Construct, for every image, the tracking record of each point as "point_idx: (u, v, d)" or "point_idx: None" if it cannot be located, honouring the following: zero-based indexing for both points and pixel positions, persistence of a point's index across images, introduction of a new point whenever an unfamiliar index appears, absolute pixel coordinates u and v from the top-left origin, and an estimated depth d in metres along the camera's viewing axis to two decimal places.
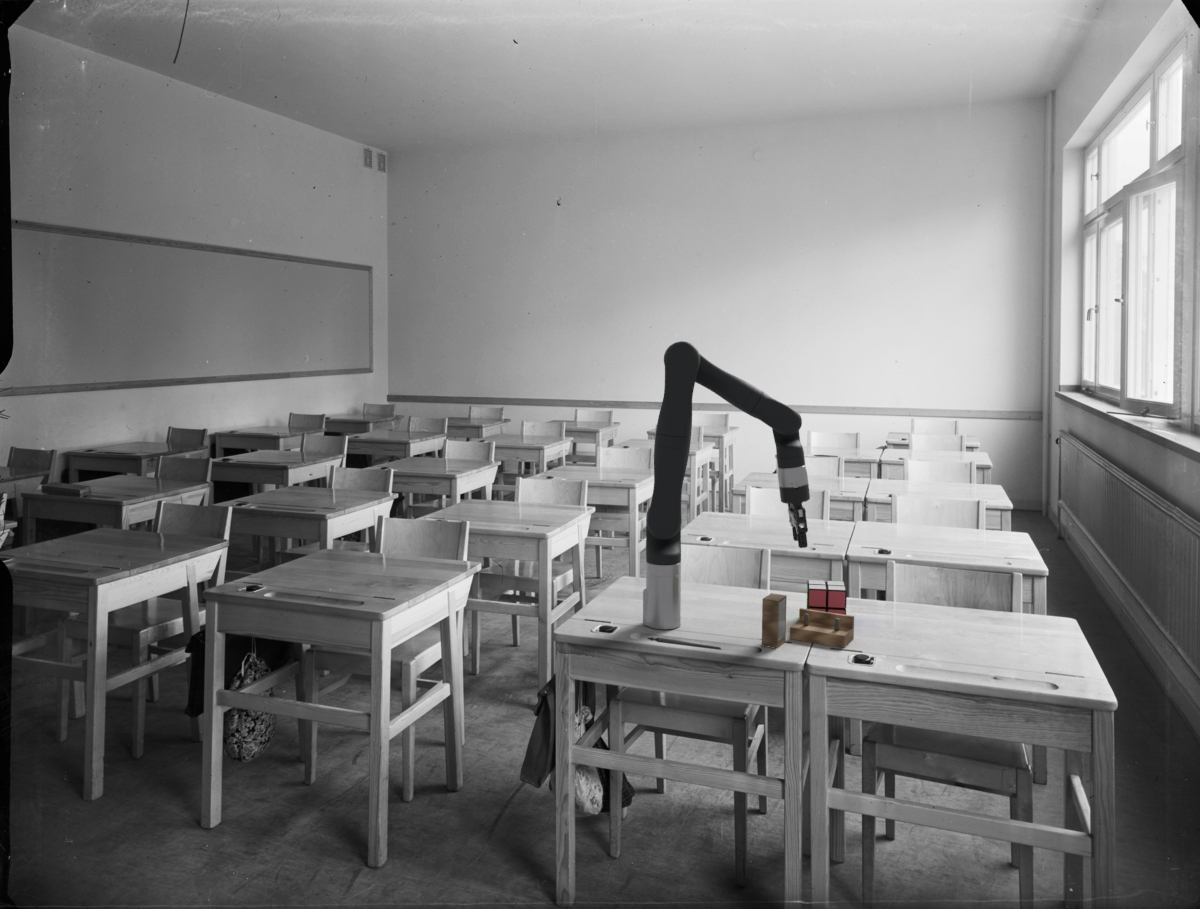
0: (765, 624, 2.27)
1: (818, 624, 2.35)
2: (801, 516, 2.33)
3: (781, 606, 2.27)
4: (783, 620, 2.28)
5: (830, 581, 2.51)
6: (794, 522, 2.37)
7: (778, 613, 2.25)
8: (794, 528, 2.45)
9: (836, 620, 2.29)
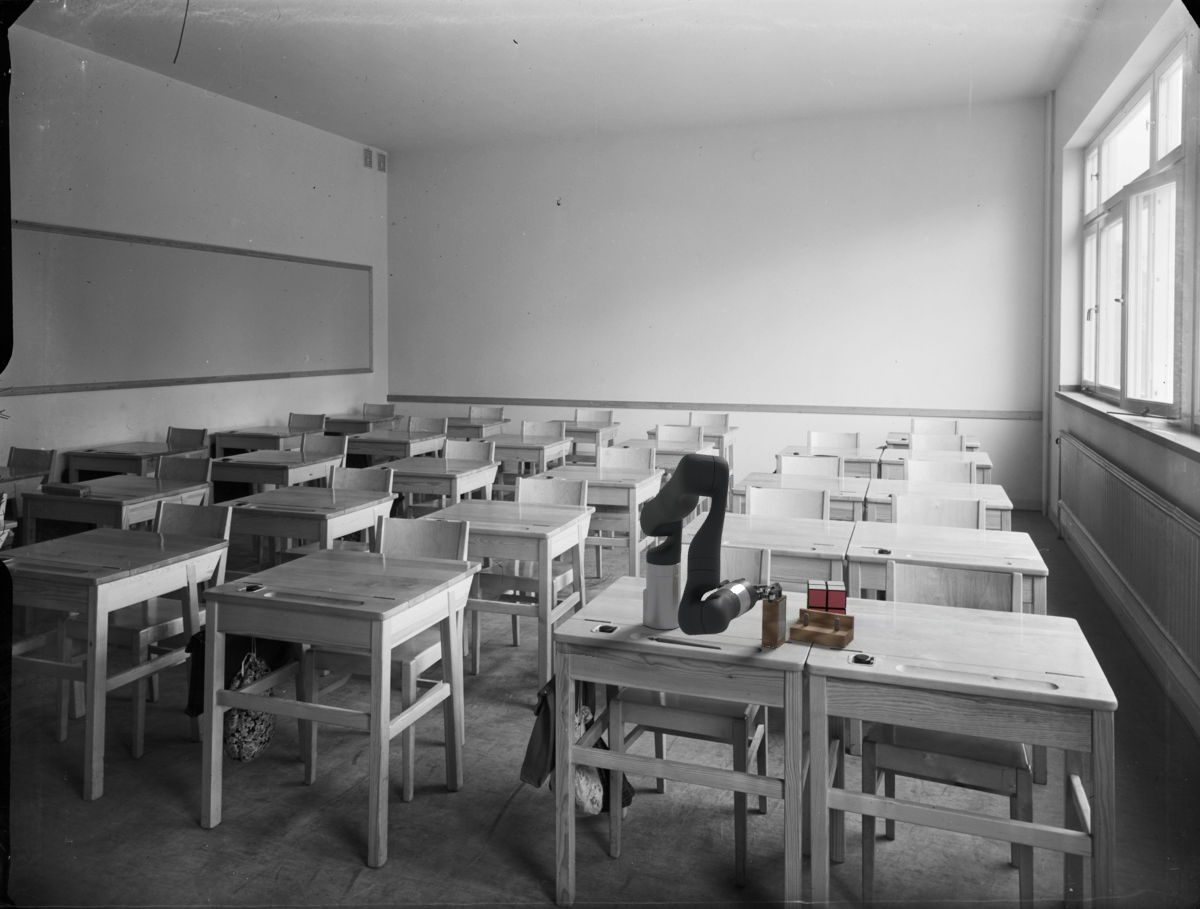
0: (765, 624, 2.27)
1: (818, 624, 2.35)
2: None
3: (781, 606, 2.27)
4: (783, 620, 2.28)
5: (830, 581, 2.51)
6: None
7: (778, 613, 2.25)
8: None
9: (836, 620, 2.29)
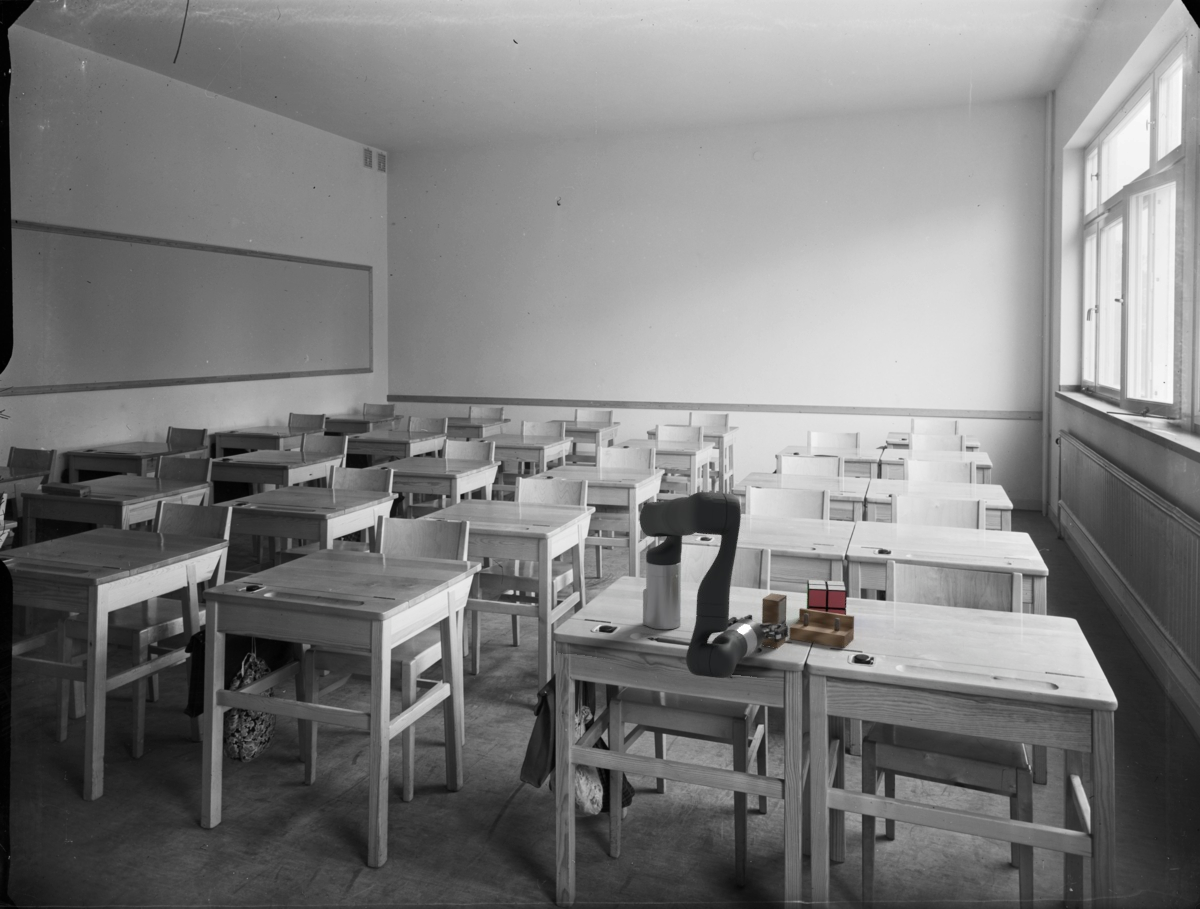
0: None
1: (818, 624, 2.35)
2: None
3: (781, 606, 2.27)
4: None
5: (830, 581, 2.51)
6: None
7: (778, 613, 2.25)
8: None
9: (836, 620, 2.29)
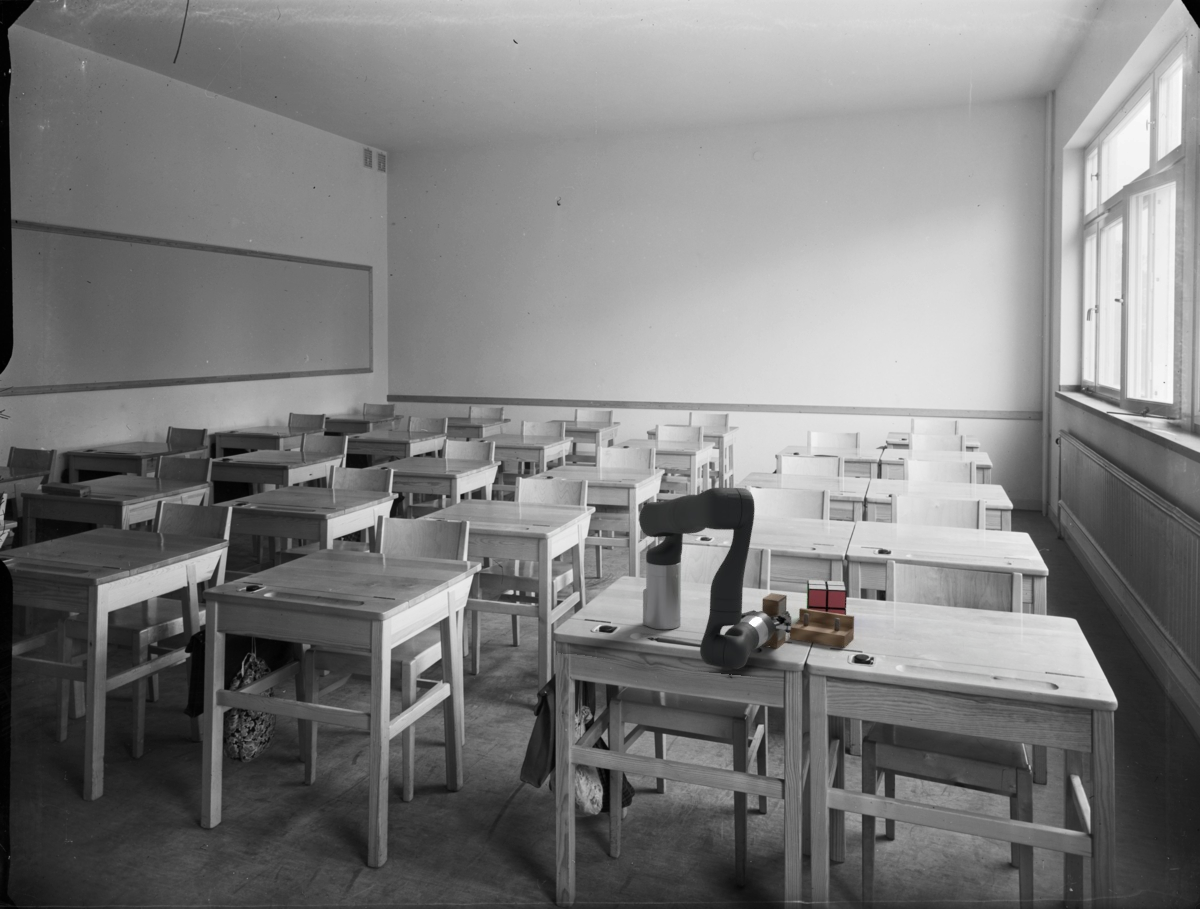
0: None
1: (818, 624, 2.35)
2: None
3: (781, 606, 2.27)
4: None
5: (830, 581, 2.51)
6: None
7: (778, 613, 2.25)
8: None
9: (836, 620, 2.29)
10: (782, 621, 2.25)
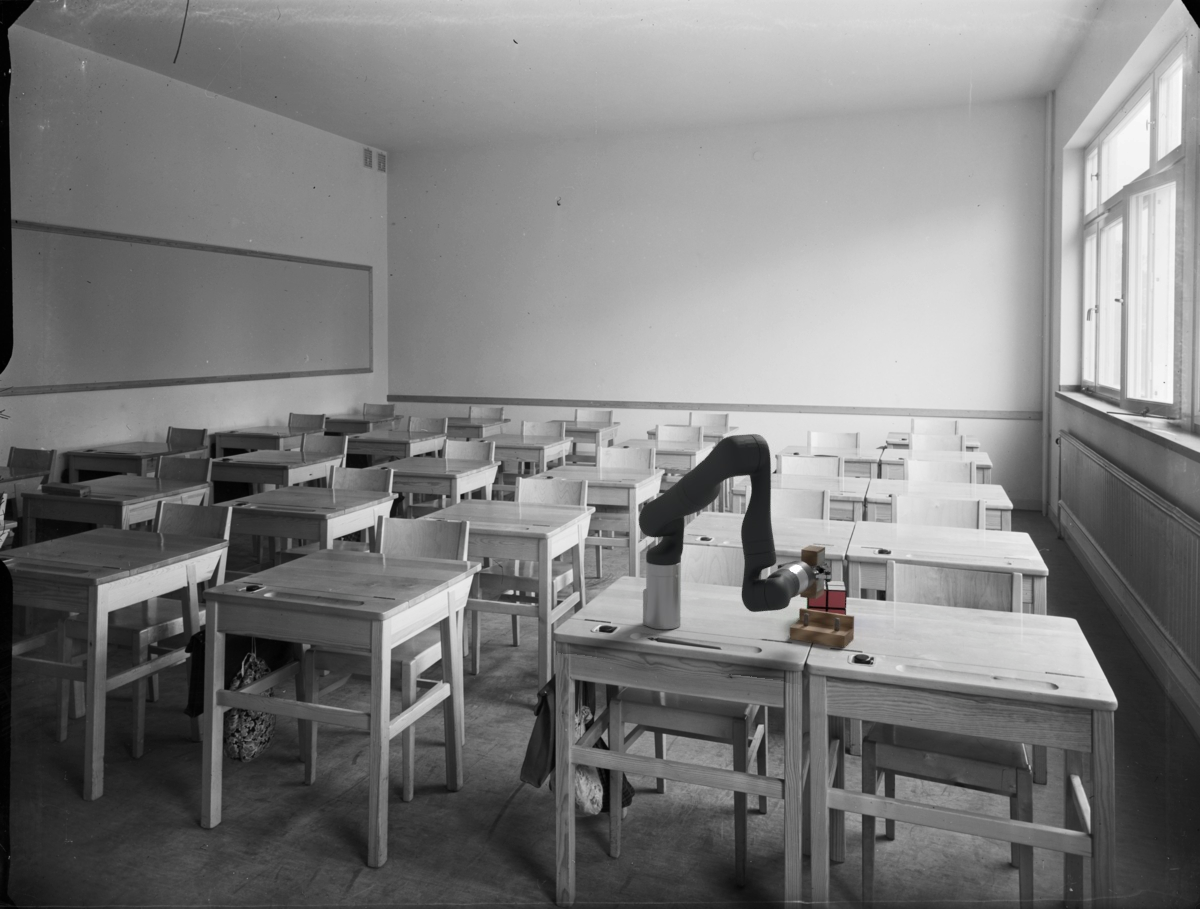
0: None
1: (818, 624, 2.35)
2: None
3: (820, 557, 2.27)
4: None
5: (830, 581, 2.51)
6: None
7: (817, 564, 2.26)
8: None
9: (836, 620, 2.29)
10: (821, 572, 2.26)
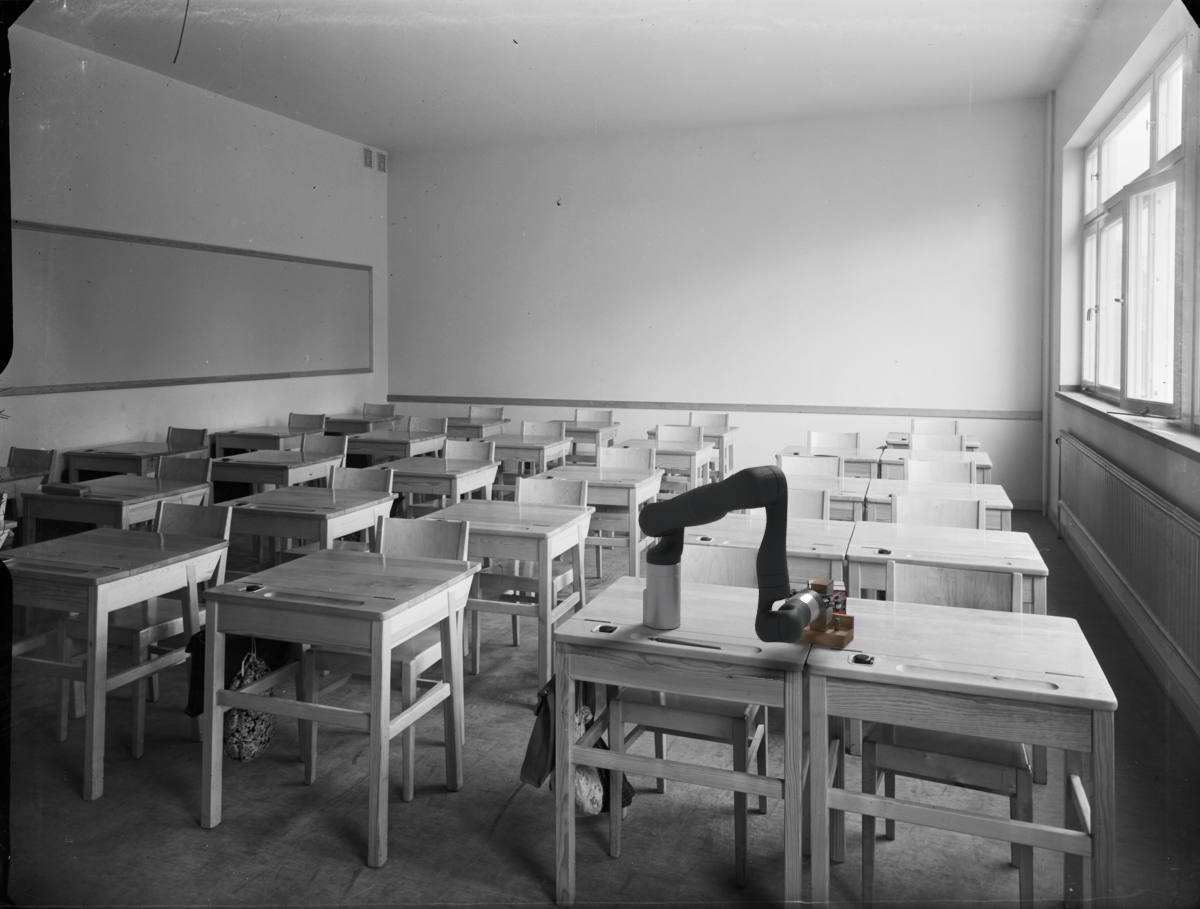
0: None
1: None
2: None
3: (829, 590, 2.30)
4: None
5: None
6: None
7: (826, 597, 2.28)
8: None
9: (836, 620, 2.29)
10: None
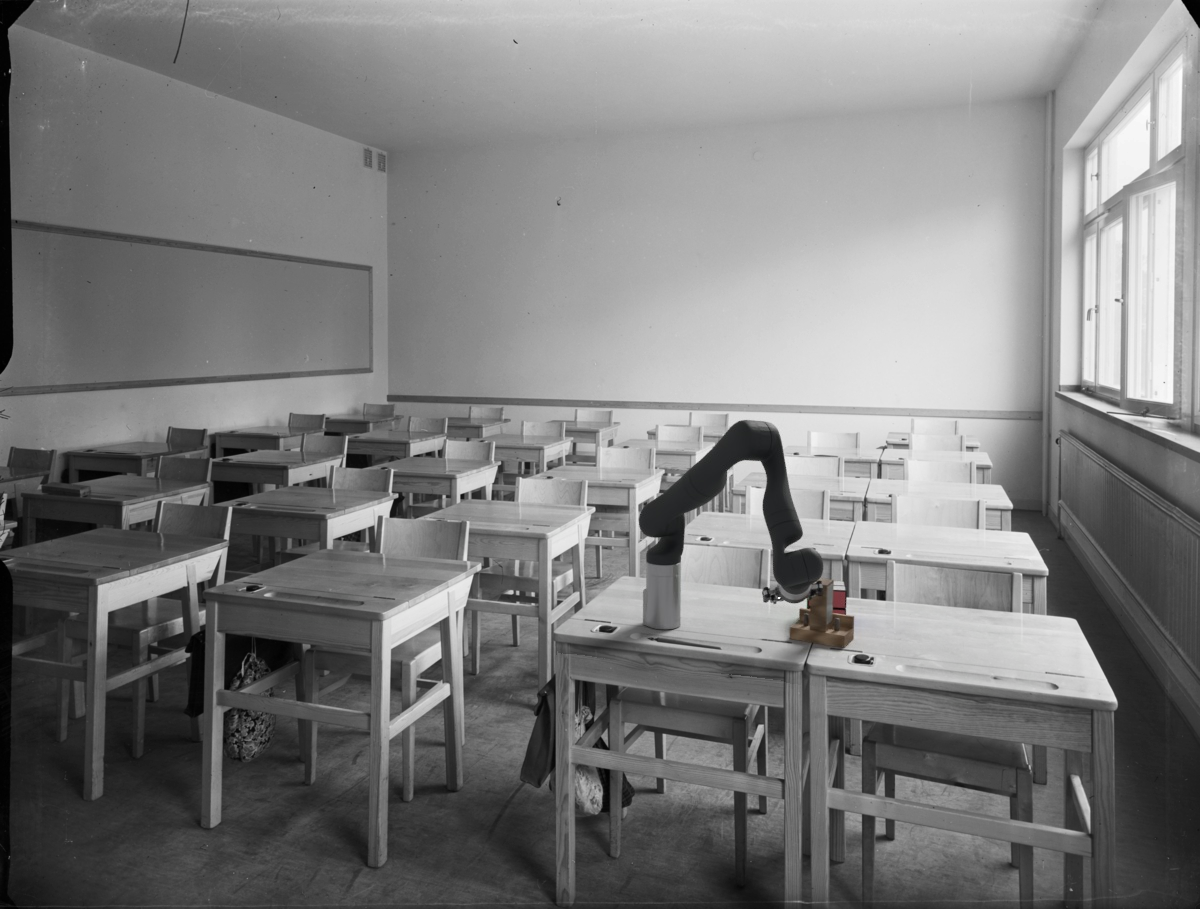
0: (813, 608, 2.30)
1: None
2: None
3: (829, 590, 2.30)
4: (831, 605, 2.31)
5: None
6: (775, 588, 2.21)
7: (826, 597, 2.28)
8: None
9: (836, 620, 2.29)
10: (811, 592, 2.21)
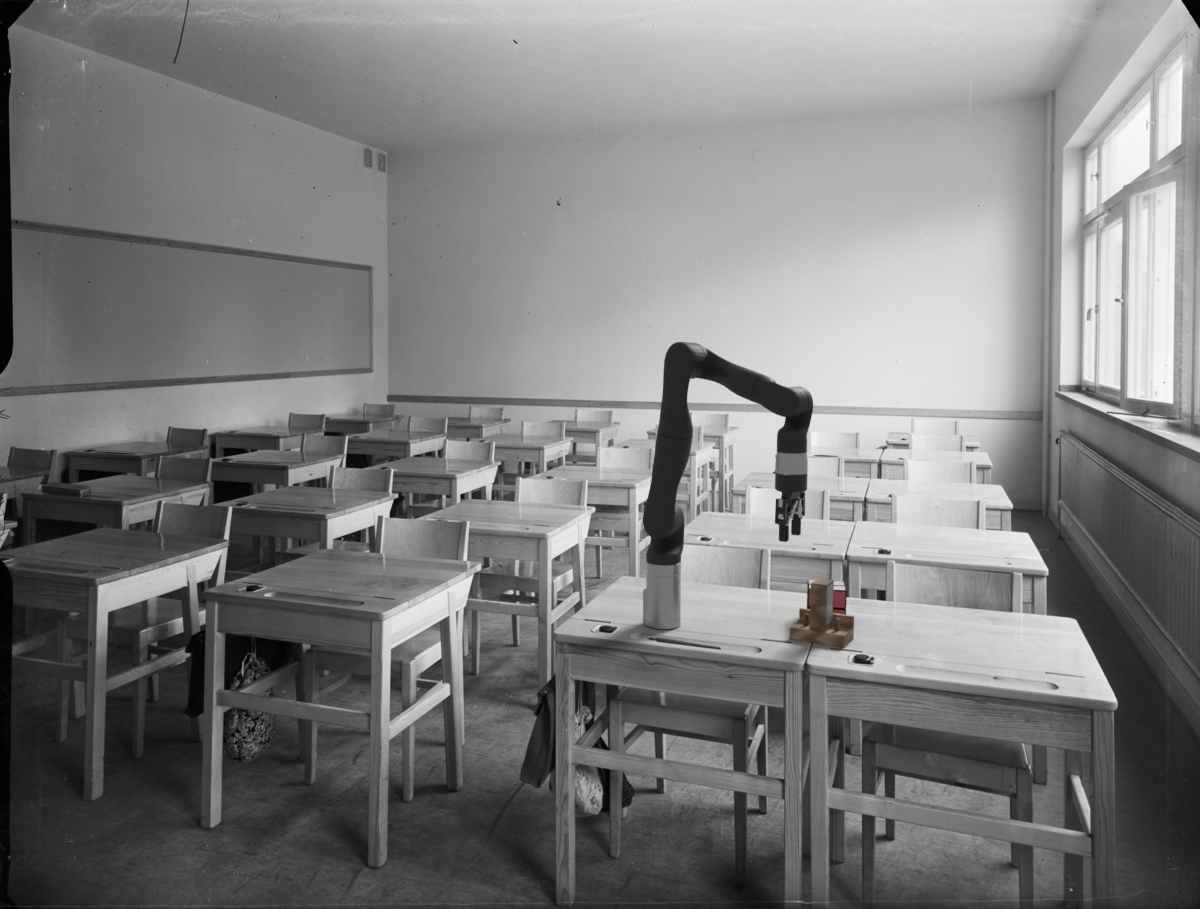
0: (813, 608, 2.30)
1: None
2: (781, 506, 2.13)
3: (829, 590, 2.30)
4: (831, 605, 2.31)
5: None
6: None
7: (826, 597, 2.28)
8: (793, 521, 2.23)
9: (836, 620, 2.29)
10: (797, 514, 2.23)
